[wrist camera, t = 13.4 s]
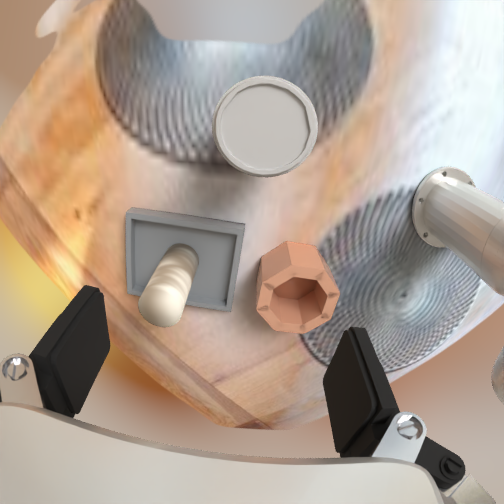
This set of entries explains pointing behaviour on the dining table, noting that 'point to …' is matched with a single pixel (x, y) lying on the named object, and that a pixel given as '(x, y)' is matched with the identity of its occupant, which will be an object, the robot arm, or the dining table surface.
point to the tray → (196, 236)
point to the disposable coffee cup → (264, 126)
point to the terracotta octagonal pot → (295, 288)
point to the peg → (169, 286)
